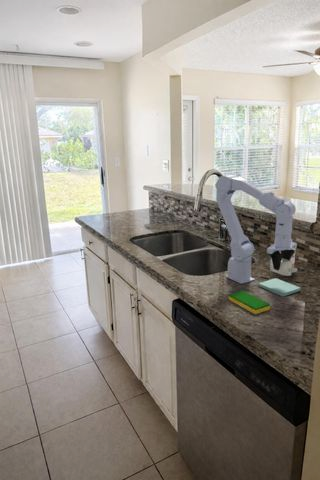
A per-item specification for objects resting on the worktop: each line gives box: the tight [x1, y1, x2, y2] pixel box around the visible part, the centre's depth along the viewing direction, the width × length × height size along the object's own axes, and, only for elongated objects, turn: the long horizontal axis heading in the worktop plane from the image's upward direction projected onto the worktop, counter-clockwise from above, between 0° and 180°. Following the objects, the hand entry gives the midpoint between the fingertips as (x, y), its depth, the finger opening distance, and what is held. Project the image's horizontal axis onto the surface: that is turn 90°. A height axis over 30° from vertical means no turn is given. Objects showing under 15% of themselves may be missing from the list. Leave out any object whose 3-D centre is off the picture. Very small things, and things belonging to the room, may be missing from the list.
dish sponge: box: [228, 290, 271, 315], centre depth 124 cm, size 7×14×2 cm, turn 30°
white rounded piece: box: [269, 258, 298, 277], centre depth 133 cm, size 11×4×5 cm, turn 31°
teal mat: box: [258, 277, 301, 297], centre depth 137 cm, size 12×10×1 cm
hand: (280, 268), depth 134 cm, fingers closed on white rounded piece, 4 cm apart
